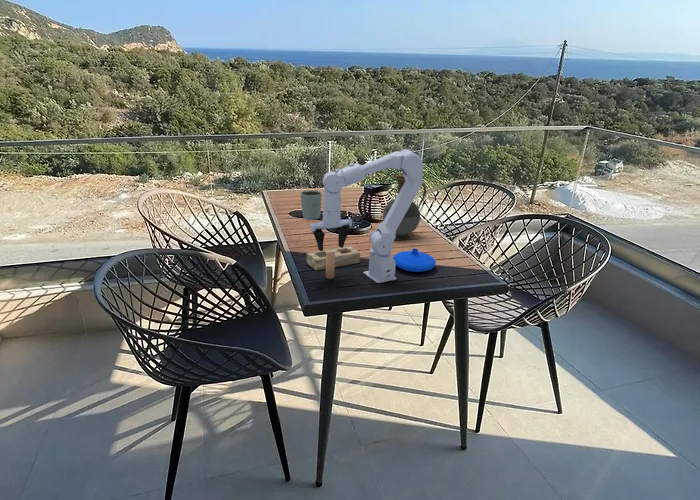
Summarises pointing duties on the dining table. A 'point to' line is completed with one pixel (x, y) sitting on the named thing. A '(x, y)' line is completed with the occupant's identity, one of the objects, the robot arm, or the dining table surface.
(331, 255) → the peg
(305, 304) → the dining table surface
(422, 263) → the blue round knobbed lid
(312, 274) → the dining table surface
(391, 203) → the pitcher
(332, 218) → the robot arm
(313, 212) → the green cup
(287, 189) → the dining table surface
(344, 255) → the hole block
